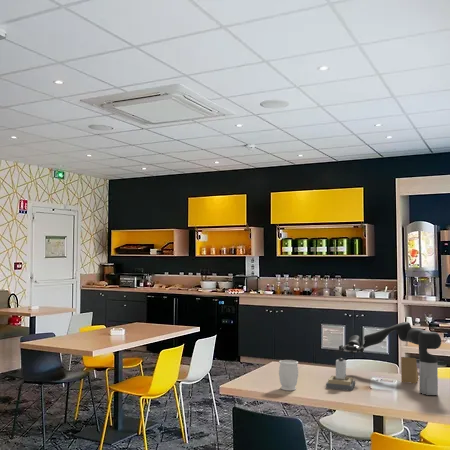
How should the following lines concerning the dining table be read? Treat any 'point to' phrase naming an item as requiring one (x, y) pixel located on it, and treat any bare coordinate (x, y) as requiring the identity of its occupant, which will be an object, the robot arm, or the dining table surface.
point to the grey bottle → (341, 369)
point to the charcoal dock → (342, 387)
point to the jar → (288, 374)
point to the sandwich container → (409, 370)
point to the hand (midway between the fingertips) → (349, 350)
